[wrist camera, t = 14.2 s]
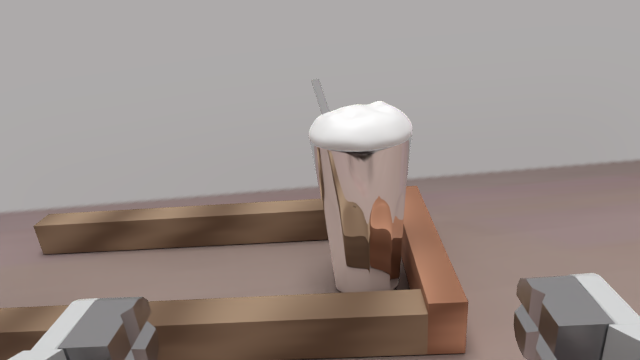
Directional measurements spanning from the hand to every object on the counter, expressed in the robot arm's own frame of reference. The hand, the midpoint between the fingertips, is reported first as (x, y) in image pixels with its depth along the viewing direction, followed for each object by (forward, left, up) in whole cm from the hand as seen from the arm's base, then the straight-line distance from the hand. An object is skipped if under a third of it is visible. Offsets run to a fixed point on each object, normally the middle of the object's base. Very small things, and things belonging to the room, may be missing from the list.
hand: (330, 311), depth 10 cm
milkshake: (-7, +9, -7) cm, 14 cm away
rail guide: (-13, +3, -7) cm, 15 cm away
